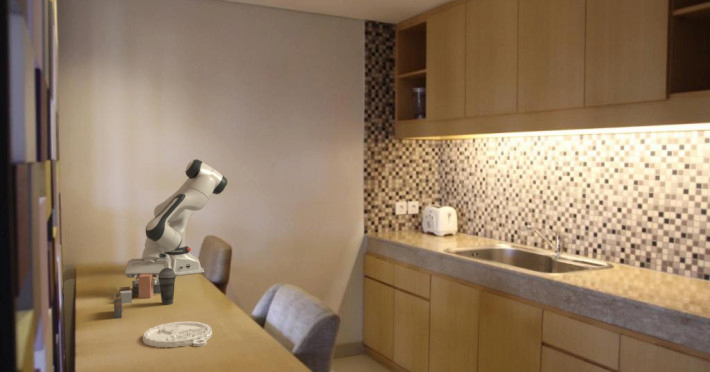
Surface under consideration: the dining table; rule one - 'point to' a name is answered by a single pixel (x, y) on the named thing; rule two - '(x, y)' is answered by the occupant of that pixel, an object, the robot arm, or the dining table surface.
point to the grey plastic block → (126, 296)
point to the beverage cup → (167, 285)
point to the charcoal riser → (136, 288)
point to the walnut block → (124, 289)
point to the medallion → (178, 334)
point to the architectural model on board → (118, 306)
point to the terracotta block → (145, 285)
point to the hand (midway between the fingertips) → (145, 284)
